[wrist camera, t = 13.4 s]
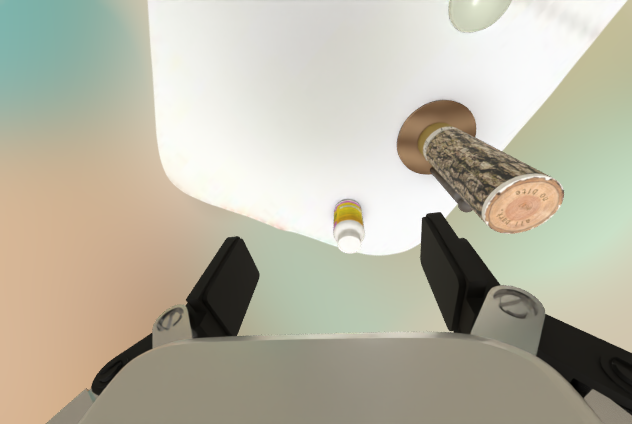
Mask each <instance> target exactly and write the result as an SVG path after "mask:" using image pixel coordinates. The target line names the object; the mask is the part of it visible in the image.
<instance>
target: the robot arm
mask: <svg viewBox="0 0 632 424" xmlns="http://www.w3.org/2000/svg"><path fill="white" fill-rule="evenodd" d="M420 257H421V264H422V267H423V270H424V272H425V275H426V277H427V279H428V282H429V284H430V287H431V289H432V292H433V294H434V296H435V299H436V301H437V303H438V306H439V308H440V311H441V313H442V316H443V318H444V321H445V323H446V325H447V327H448V329H449V331H454V333H451V332H450V333H449V332H371V333H330V334H329V333H328V334H292V335H291V334H290V335H258V336H237V334H238V332H239V329H240V326H241V324H242V321H243V319H244V316H245V314H246V311H247V308H248V306H249V303H250V300H251V298H252V295H253V293H254V290H255V288H256V285H257V282H258V280H259V271H258V269H257V267H256V265H255V263H254V261H253V259H252V257H251V255H250V253H249V251H248V249H247V247H246V245H245V243H244V241H243V239H240V237H238V236H236V237H228V238H227V239H226V240H225V242H224V243H223V244H222V246H221V248H220V249H219V251H218V252H217V254H216V255H215V257H214V258H213V260H212V261H211V263H210V264H209V266H208V267H207V269H206V270H205V272H204V273H203V275H202V276H201V278H200V279H199V281H198V282H197V284H196V285H195V287H194V288H193V290H192V291H191V293H190V294H189V296H188V297H187V299H186V301H187V302H188V303H187V304H186V306H185V305H175V306H173V307H171V308H169V309H167V310H166V311H164V312H163V313H162V314H161V315H160V316H159V317H158V319H157V320H156V322H155V323H154V325H153V329H152V330H153V331H152V333H151V334H150V335H148V336H147V337H145V338H144V339H142V340H141V341H139V342H138V343H136V344H135V345H133V346H132V347H130V348H129V349H127V350H126V351H124V352H123V353H121V354H119V355H118V356H116V357H115V358H113V359H112V360H111V361H110V362H108V363H107V364H106V365H105V366H104V367H103V368H102V369H101V370H100V371H99V373H98V374H97V375H96V377H95V379H94V381H93V383H92V386H91V389H90V390H88V389H87V388H86V389H85V390H84V391H82V392H81V393H80V394H79V395H78V396H77V397H76V398H74V399H73V400H72V401H71V402H70V403H69V404H68V405H67V406H65V407H64V408H63V409H62V410H61V411H60V412H59V413H57V414H56V415H55V416H54V417H53V418H52V419H51V420H49V422H47V423H46V424H632V353H630V352H628V351H626V350H624V349H621V348H619V347H617V346H615V345H612V344H610V343H608V342H606V341H604V340H602V339H599V338H597V337H595V336H593V335H590V334H588V333H586V332H584V331H582V330H580V329H577V328H575V327H573V326H571V325H569V324H566V323H564V322H562V321H560V320H557V319H555V318H553V317H551V316H549V315H547V314H545V309H544V307H543V305H542V303H541V302H540V301H539V300H538V299H537V298H536V297H535V296H533V295H532V294H530V293H528V292H527V291H525V290H522V289H520V288H517V287H513V286H506V285H500V284H499V282H498V281H497V280H496V278H495V277H494V276H493V274H492V273H491V272H490V270H489V269H488V268H487V266H486V265H485V263H484V262H483V261H482V259H481V258H480V257H479V255H478V254H477V253H476V251H475V250H474V249H473V247H472V246H471V245H470V243H469V242H468V241H467V240H466V239H465V238H458V236H457V235H456V234H455V232H454V231H453V229H452V228H451V226H450V225H449V224H448V222H447V221H446V219H445V218H444V216H443V215H442V214H441V212H437V213H429V214H427V215H426V217H423V218H422V232H421V256H420Z"/></svg>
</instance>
